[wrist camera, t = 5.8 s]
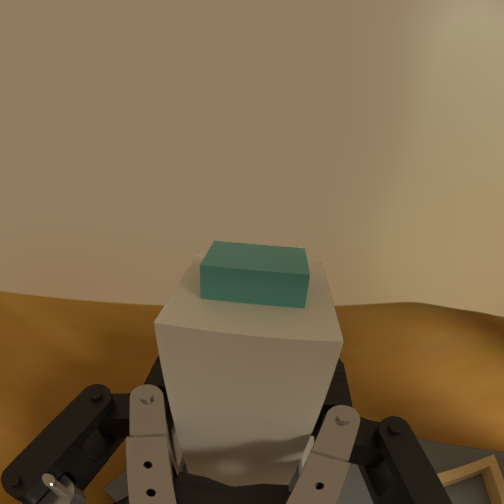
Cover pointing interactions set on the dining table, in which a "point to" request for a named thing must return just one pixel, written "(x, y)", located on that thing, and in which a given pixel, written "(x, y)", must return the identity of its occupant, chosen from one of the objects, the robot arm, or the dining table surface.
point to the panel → (440, 456)
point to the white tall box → (248, 360)
